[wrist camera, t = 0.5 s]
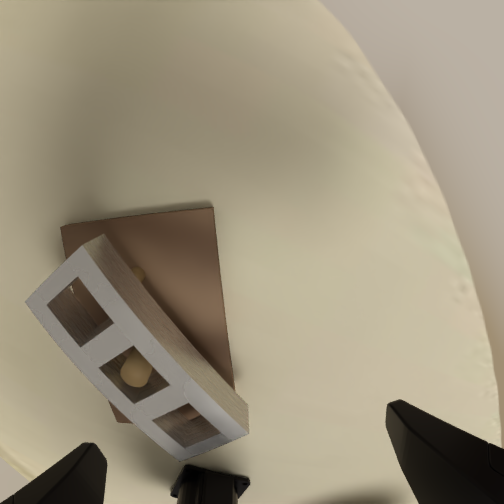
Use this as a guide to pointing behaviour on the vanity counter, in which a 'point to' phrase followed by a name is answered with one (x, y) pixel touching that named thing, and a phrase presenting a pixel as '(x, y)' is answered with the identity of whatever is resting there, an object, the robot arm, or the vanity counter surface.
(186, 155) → the vanity counter surface
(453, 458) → the robot arm
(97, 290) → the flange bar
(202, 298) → the post stand
